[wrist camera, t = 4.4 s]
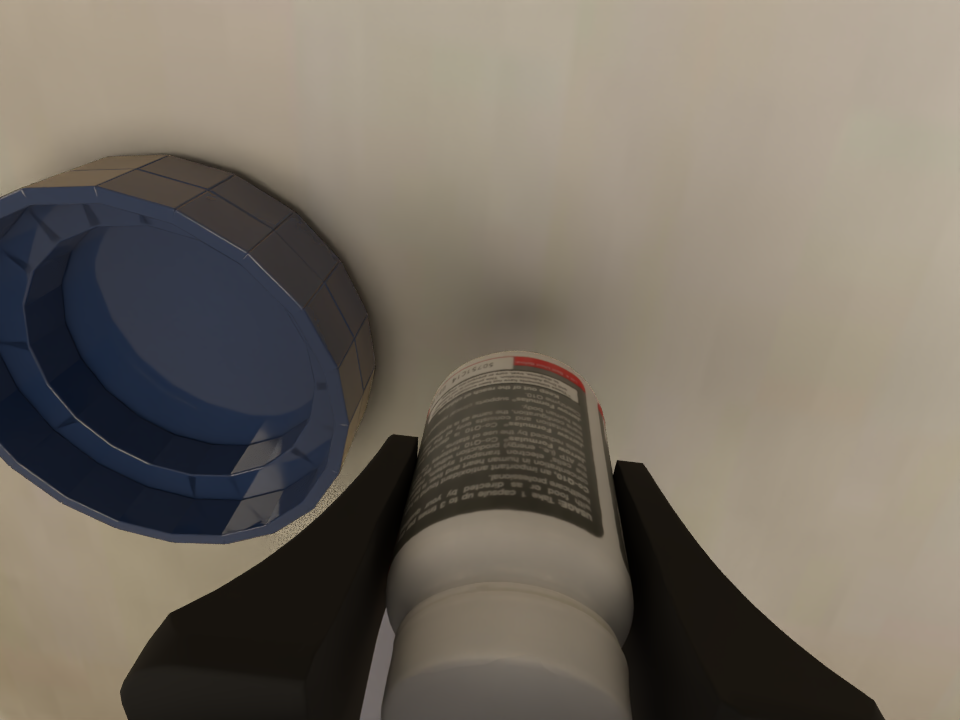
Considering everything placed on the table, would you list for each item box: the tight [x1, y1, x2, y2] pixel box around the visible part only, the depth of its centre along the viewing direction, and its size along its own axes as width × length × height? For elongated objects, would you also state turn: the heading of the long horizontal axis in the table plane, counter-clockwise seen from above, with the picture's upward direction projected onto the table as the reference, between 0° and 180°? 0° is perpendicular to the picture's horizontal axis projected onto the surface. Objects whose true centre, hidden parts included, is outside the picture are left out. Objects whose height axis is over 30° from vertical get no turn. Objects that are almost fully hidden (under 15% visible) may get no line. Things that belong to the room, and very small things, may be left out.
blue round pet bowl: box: [0, 155, 376, 544], centre depth 22 cm, size 14×14×4 cm
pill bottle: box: [381, 351, 634, 720], centre depth 13 cm, size 5×5×8 cm
